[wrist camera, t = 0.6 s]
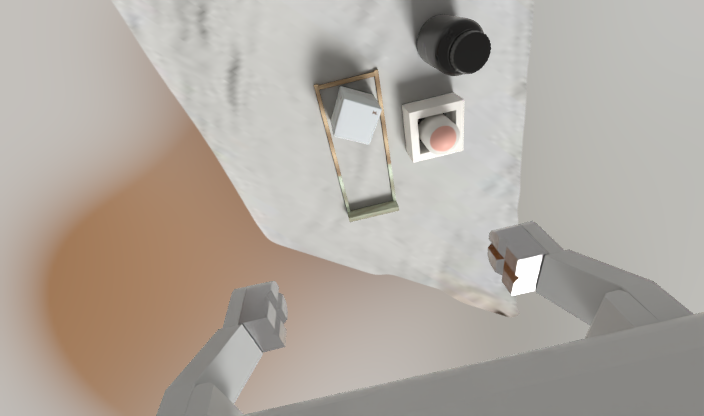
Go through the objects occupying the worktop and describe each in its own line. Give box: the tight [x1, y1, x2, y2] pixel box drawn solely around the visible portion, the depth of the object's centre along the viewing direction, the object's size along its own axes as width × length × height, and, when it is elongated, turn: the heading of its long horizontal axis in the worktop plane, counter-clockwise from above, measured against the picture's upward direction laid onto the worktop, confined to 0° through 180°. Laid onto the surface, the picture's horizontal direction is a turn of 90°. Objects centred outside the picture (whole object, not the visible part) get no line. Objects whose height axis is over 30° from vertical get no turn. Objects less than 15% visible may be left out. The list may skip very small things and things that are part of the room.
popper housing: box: [402, 92, 464, 163], centre depth 52 cm, size 9×9×4 cm
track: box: [314, 69, 399, 222], centre depth 55 cm, size 27×10×2 cm, turn 12°
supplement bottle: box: [417, 14, 491, 76], centre depth 41 cm, size 7×7×12 cm
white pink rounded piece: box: [418, 113, 460, 155], centre depth 49 cm, size 6×6×6 cm
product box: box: [331, 86, 382, 145], centre depth 48 cm, size 6×6×7 cm
